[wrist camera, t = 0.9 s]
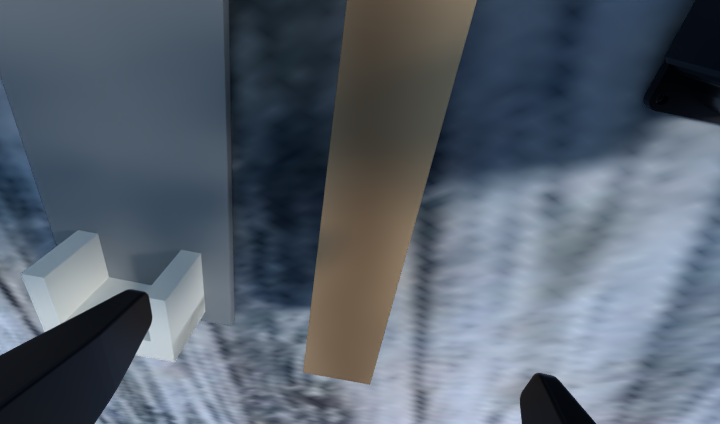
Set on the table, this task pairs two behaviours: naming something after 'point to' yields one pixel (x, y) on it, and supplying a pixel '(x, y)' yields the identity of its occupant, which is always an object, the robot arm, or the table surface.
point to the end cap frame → (127, 156)
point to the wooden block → (378, 170)
